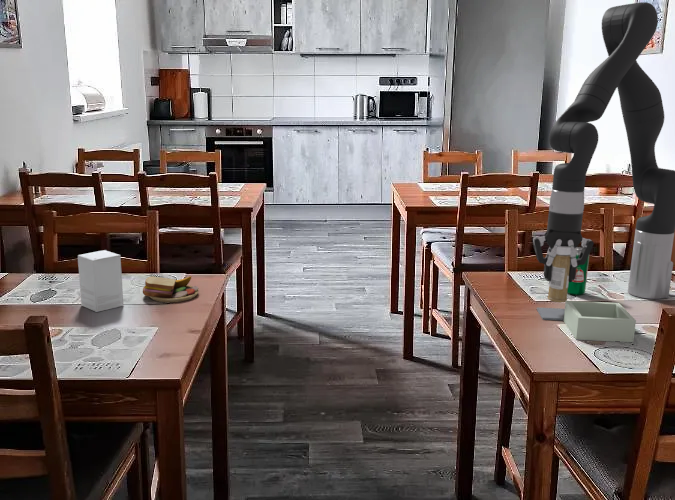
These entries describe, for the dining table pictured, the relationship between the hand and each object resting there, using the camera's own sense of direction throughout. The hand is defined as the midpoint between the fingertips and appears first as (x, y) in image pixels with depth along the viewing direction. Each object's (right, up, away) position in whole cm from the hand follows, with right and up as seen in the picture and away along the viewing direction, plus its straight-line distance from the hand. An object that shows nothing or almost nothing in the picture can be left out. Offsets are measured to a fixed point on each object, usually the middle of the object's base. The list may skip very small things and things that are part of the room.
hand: (558, 280), depth 164 cm
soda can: (+10, -4, +20) cm, 23 cm away
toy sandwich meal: (-94, -5, +11) cm, 95 cm away
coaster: (0, -8, +2) cm, 9 cm away
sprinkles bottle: (0, -5, +1) cm, 5 cm away
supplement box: (-109, -6, +2) cm, 109 cm away
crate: (+6, -11, -8) cm, 15 cm away
